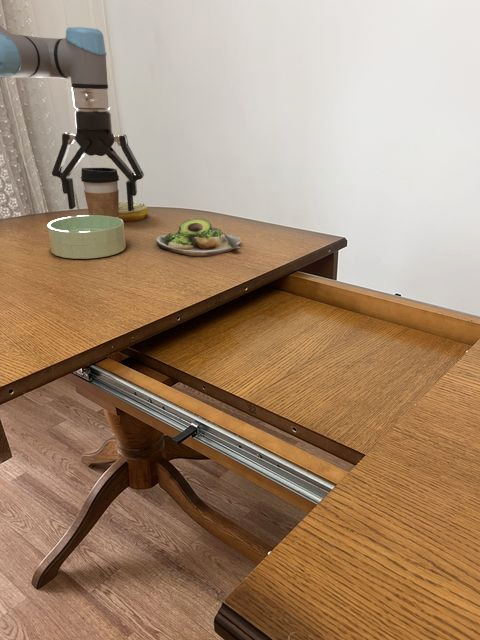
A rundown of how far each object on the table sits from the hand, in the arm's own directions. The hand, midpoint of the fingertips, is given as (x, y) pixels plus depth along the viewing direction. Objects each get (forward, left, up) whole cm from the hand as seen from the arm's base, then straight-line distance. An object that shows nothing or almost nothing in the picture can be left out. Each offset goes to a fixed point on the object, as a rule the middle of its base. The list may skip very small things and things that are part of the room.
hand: (101, 209), depth 127 cm
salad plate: (+23, -10, -6) cm, 26 cm away
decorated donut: (+2, +16, -6) cm, 17 cm away
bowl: (0, -15, -6) cm, 16 cm away
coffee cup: (0, 0, -6) cm, 6 cm away
